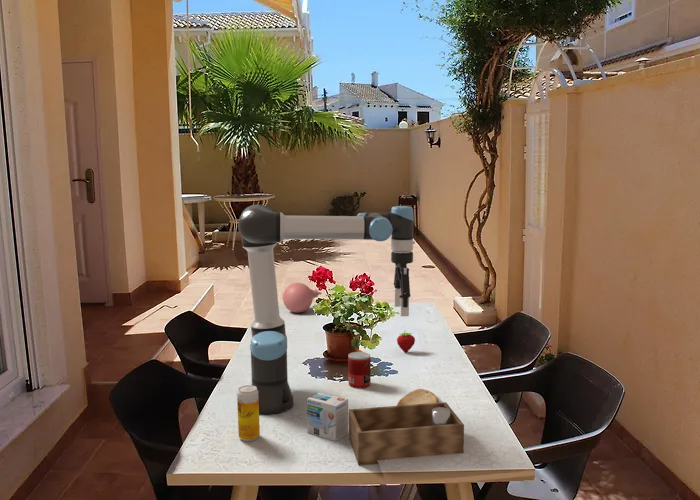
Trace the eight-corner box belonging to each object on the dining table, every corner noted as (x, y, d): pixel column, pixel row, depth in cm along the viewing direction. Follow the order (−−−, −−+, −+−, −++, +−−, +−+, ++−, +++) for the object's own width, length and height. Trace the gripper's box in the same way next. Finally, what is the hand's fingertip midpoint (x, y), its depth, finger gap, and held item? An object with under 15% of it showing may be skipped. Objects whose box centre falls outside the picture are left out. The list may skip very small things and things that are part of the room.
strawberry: (416, 354, 260) (416, 330, 259) (398, 355, 259) (398, 331, 258) (413, 350, 266) (413, 326, 264) (395, 350, 265) (395, 327, 264)
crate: (358, 465, 169) (358, 433, 168) (349, 438, 185) (348, 409, 184) (463, 456, 174) (464, 424, 173) (445, 431, 190) (445, 402, 188)
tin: (434, 445, 178) (434, 414, 177) (429, 437, 183) (429, 407, 182) (451, 444, 179) (452, 413, 178) (446, 436, 184) (446, 406, 182)
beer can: (234, 437, 186) (232, 388, 184) (251, 431, 191) (250, 383, 188) (246, 444, 182) (245, 394, 180) (264, 437, 186) (262, 388, 184)
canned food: (368, 389, 223) (368, 359, 221) (346, 387, 225) (346, 357, 223) (372, 381, 231) (372, 352, 229) (350, 380, 232) (350, 351, 230)
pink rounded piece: (323, 314, 324) (322, 285, 322) (283, 316, 321) (282, 286, 319) (320, 307, 339) (320, 279, 337) (282, 309, 337) (281, 280, 334)
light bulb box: (306, 433, 189) (305, 398, 188) (320, 424, 195) (319, 391, 193) (336, 441, 183) (335, 406, 182) (349, 433, 189) (349, 398, 187)
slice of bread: (427, 393, 220) (427, 382, 220) (454, 412, 204) (454, 401, 203) (380, 400, 214) (380, 390, 213) (403, 421, 197) (403, 410, 197)
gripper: (419, 257, 208) (418, 320, 212) (406, 245, 233) (406, 302, 236) (396, 257, 208) (396, 320, 211) (386, 245, 232) (385, 302, 236)
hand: (401, 311), depth 224 cm, fingers open, 13 cm apart
